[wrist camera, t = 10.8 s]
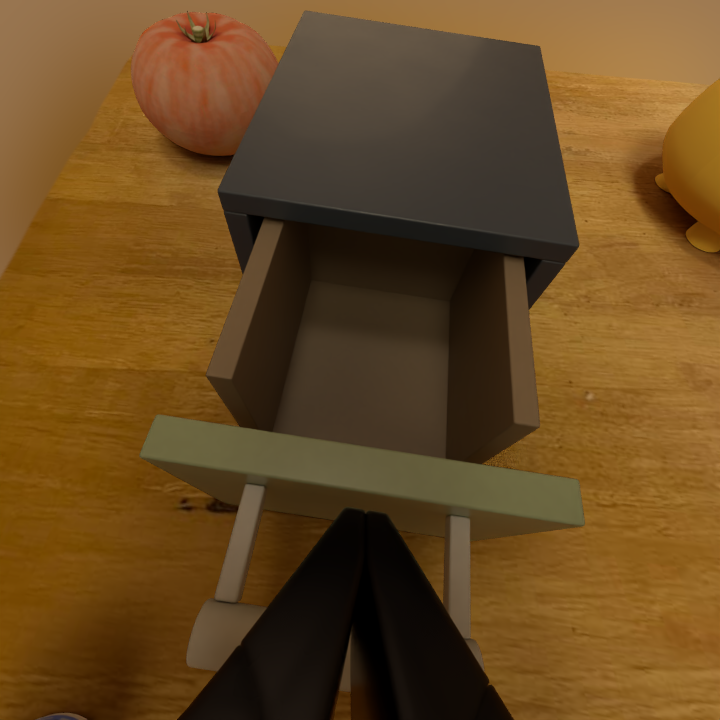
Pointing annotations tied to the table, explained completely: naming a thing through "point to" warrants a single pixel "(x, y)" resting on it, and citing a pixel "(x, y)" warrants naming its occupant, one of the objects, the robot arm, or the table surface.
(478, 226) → the cabinet
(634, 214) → the table surface
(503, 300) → the drawer
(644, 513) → the table surface
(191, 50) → the tomato
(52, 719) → the pill bottle
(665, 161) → the teapot
